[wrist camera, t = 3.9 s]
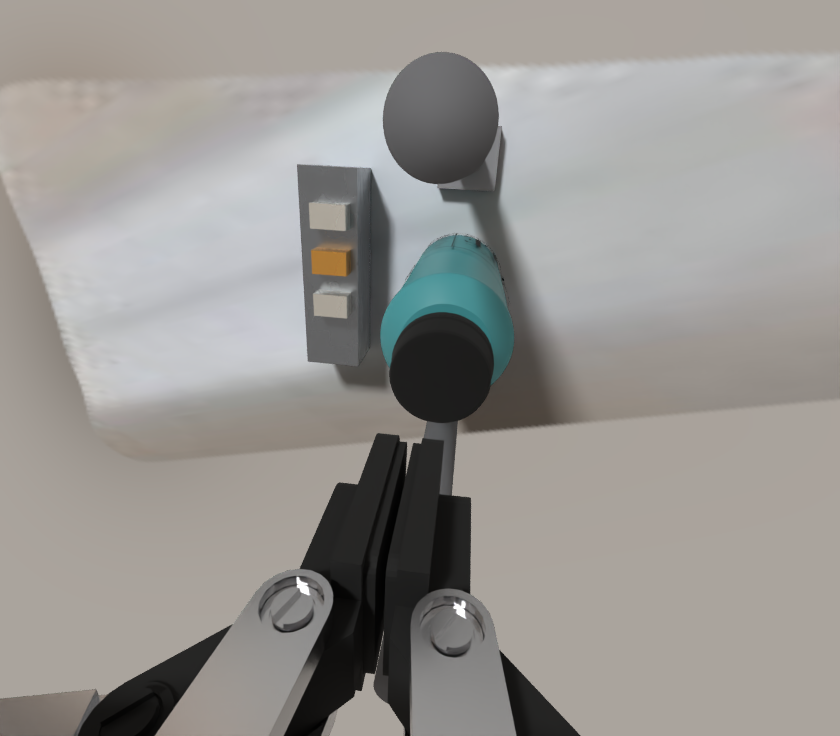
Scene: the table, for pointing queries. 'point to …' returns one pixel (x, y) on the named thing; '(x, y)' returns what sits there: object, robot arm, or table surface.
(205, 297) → the table surface
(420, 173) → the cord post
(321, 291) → the pdu strip
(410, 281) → the beverage bottle
